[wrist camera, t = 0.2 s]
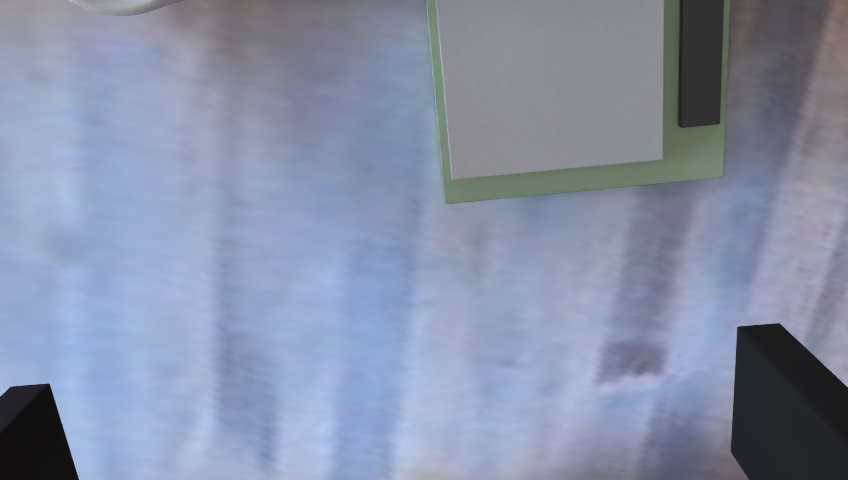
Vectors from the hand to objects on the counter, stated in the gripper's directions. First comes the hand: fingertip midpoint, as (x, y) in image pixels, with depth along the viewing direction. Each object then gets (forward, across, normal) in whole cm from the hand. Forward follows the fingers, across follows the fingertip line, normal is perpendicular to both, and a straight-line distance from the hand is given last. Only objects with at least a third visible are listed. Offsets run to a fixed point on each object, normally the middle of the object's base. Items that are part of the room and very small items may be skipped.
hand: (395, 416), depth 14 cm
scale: (+28, +9, +5) cm, 29 cm away
